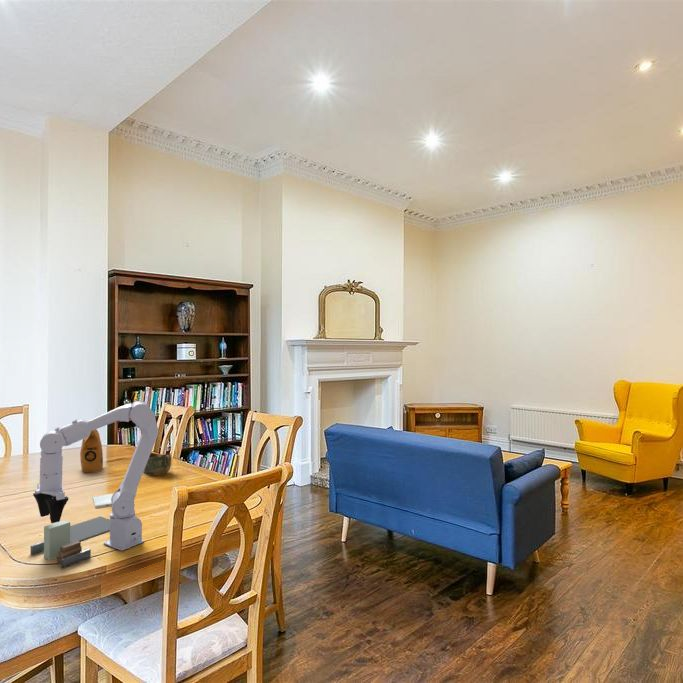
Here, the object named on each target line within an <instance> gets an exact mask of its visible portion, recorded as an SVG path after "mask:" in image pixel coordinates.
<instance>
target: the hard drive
mask: <svg viewBox="0 0 683 683" xmlns="http://www.w3.org/2000/svg"><path fill="white" fill-rule="evenodd" d="M113 494H114V493H108V494H102V495H95V496H92V501H93V505H94V508H95V509H100V508H101V509H102V508H107V507H112V502H111V498H112V496H113Z"/></svg>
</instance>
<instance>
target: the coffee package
mask: <svg viewBox="0 0 683 683" xmlns="http://www.w3.org/2000/svg"><path fill="white" fill-rule="evenodd" d="M100 436H101V435H100V433H99V431H98V429H95V430H93V431H91V433H90V435H89V437H87V438H84V439H82V440H81V441H82V443H81V447H80V452H79V453H80V454H79V455H80V466H81V472H82V473H85V474H86V473H96V472H97V473H98V472H101V470H102V469H103V466H104V456H103V455H104V453H103V447H102V446H103V445H102V441H101V437H100Z"/></svg>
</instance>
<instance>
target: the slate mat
mask: <svg viewBox="0 0 683 683" xmlns="http://www.w3.org/2000/svg"><path fill="white" fill-rule="evenodd" d="M108 532H110V518H106V517H103V516H97V517H94V518H91V519H88V520H86V521H82V522H78V523H74V524H73V525H70V543H71V542H74V541H79V542H82V541H85V540H88V539H91V538H94V537H97V536H99V535H102V534H105V533H108Z"/></svg>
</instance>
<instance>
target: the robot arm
mask: <svg viewBox="0 0 683 683" xmlns="http://www.w3.org/2000/svg"><path fill="white" fill-rule="evenodd" d="M130 420H131V421H132V422H133V423H134V424H135V425H136V426H138V429H139V430H140V433H141V434H140V437H139V439H138V443H137V445H136V447H135V450H134V452H133V454H132V457H131V459H130V462H129V465H128V467H127V469H126V472H125V474H124V477H123V479H122V481H121V483H120V485H119V487H118V489H117V490H116V491H115V492H114V493H112V494H113V496H112V498H111V502H112V506H111V512H110V513H109V519H110V531H109V540H106V541H104V542H103V545H105V546H109V547H111V548H113V549H116V550H118V551H125V550H127V549H129V548H132V547H134V546H137V545H140V544H142V543H144V542H145V539H143V538H142V537H143V532H142V531H143V523H142V520H141V519H140V518H139V517H137V515H136V510H135V498H136V496H137V491H138V486H139V484H140V482H141V478H142V476H143V474H144V469H145V467H146V464H147V461H148V459H149V456H150V454H151V453H152V452H153V448H154V446H155V444H156V440H157V438H158V435H159V428H158V424H157V419H156V415H155V413H154V411H153V410H152V409H151V407H150V406H149V404H148V403H147V402H146V401H144V400H136V401H134V402H132V403H126V404H124V405H121V406H118V407H116V408H114V409H111V410H109V411H107V412H105V413H103V414H100V415H97V417H95V418H92V419H90V420H84V419H78V420H77V418H76V419H73V420H72V421H71V423H69V424H66V425H64V426H62V427H55V429H54V430H55V431H54V430H51V431H50V430H49V431H47V432H46V433H45V434H44V435H43V436H42V437H41V439H40V442H39V448H40V449H41V451H40V456H41V457H40V459H39V483H37V487H36V488H37V489H34V492H33V493H32V496H33V497H34V499H35V501H36V504H37V507H38V511H39V515H40V517H42V518H43V517H48V516H49V520H50V523H51V524H54V523H57V522H60V521H61V517H62V515H63V514H62V513H63V511H64V508H65V506H66V504H67V503H68V501H69V497H68V496H66V494H65V493H66V492H65V491H64V488H63V487H64V486H63V465H64V464H63V461H64V460H63V458H64V457H63V447H68V446H70V445H72V444H75V443H77V442H79V441H83V439H84V438H87V437H89V435H90V433H91V431H93V430H95V429H97V430H98V429H100V428H102V427H105V426H107V425H111V424H113V423H116V422H118V421H121V422H125V423H126V422H127V423H129V421H130Z"/></svg>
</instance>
